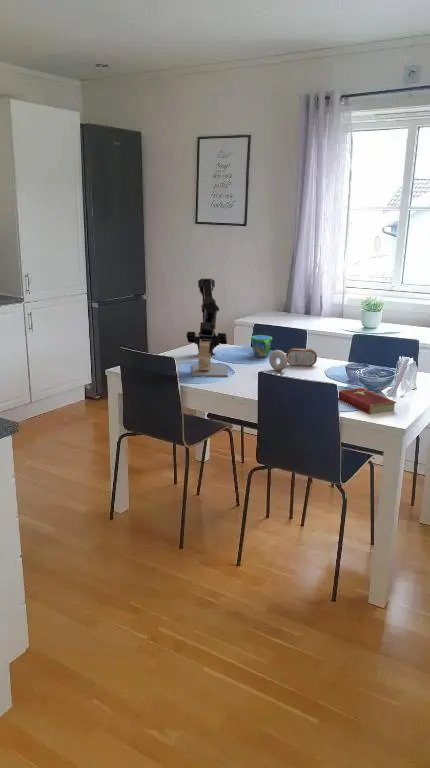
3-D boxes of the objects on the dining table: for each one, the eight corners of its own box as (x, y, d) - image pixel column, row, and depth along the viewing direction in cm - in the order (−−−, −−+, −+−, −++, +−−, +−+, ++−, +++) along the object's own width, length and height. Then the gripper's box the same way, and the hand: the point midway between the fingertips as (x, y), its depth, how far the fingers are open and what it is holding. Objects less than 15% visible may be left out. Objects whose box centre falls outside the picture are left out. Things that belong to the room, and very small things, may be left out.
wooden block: (200, 369, 287) (201, 341, 286) (210, 369, 286) (211, 341, 285) (198, 369, 282) (199, 341, 281) (208, 370, 281) (209, 342, 280)
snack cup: (275, 359, 310) (276, 339, 307) (255, 360, 308) (256, 340, 305) (266, 352, 325) (266, 333, 322) (247, 353, 323) (247, 334, 320)
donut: (267, 369, 291) (268, 348, 288) (271, 368, 293) (272, 347, 290) (284, 373, 284) (284, 352, 281) (288, 372, 286) (289, 351, 284)
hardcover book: (369, 415, 228) (370, 405, 227) (337, 400, 247) (337, 390, 245) (395, 411, 233) (396, 401, 232) (361, 396, 251) (362, 386, 250)
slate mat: (192, 365, 296) (192, 364, 296) (225, 365, 296) (225, 364, 296) (192, 376, 277) (192, 375, 276) (227, 376, 277) (227, 375, 277)
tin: (316, 365, 299) (317, 348, 297) (316, 367, 296) (317, 350, 294) (285, 364, 301) (286, 347, 298) (285, 366, 298) (286, 349, 295)
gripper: (187, 314, 284) (181, 342, 277) (226, 315, 281) (222, 344, 274) (190, 328, 294) (185, 355, 286) (229, 329, 291) (225, 357, 283)
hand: (204, 353), depth 282 cm, fingers closed on wooden block, 4 cm apart
